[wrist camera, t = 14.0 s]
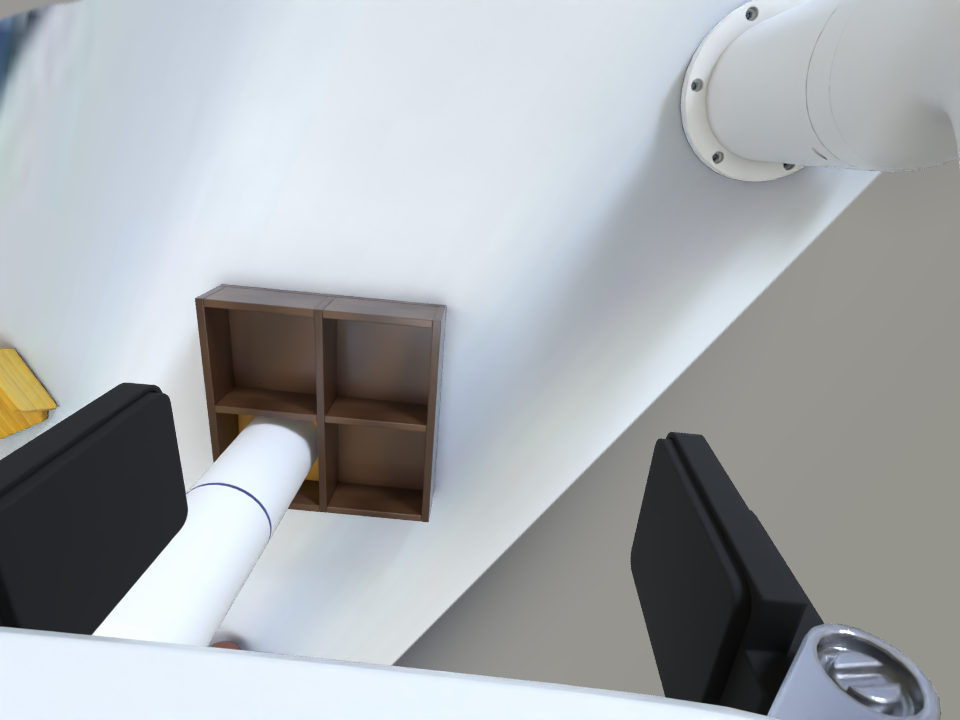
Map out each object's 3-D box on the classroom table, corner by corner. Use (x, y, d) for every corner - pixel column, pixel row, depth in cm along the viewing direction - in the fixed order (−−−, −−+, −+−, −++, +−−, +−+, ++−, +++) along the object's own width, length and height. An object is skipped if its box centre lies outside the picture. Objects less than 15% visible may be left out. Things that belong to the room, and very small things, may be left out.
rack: (446, 305, 49) (441, 321, 44) (434, 493, 56) (428, 522, 52) (221, 284, 49) (194, 297, 44) (239, 474, 56) (217, 502, 52)
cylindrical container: (331, 424, 53) (197, 647, 29) (308, 480, 55) (168, 727, 32) (260, 394, 52) (64, 602, 29) (240, 453, 54) (45, 687, 31)
